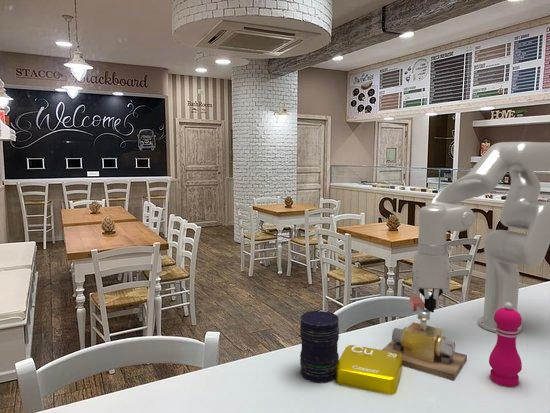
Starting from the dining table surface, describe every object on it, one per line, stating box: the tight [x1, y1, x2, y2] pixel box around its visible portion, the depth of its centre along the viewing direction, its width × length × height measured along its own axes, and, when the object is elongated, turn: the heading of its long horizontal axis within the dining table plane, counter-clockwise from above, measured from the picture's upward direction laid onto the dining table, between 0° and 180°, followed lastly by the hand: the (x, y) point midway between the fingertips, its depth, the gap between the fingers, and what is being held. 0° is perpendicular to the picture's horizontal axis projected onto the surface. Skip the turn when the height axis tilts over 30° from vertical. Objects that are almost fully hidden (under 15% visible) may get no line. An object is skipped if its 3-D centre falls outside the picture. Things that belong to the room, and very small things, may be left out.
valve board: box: [381, 340, 468, 381], centre depth 118 cm, size 13×20×2 cm, turn 53°
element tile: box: [334, 344, 403, 395], centre depth 110 cm, size 15×15×5 cm
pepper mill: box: [488, 302, 523, 387], centre depth 106 cm, size 7×7×20 cm
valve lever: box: [409, 295, 431, 321], centre depth 122 cm, size 14×3×2 cm, turn 173°
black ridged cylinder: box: [299, 310, 340, 384], centre depth 110 cm, size 10×10×15 cm
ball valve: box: [391, 319, 456, 364], centre depth 117 cm, size 7×16×10 cm, turn 53°
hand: (429, 310), depth 126 cm, fingers closed
